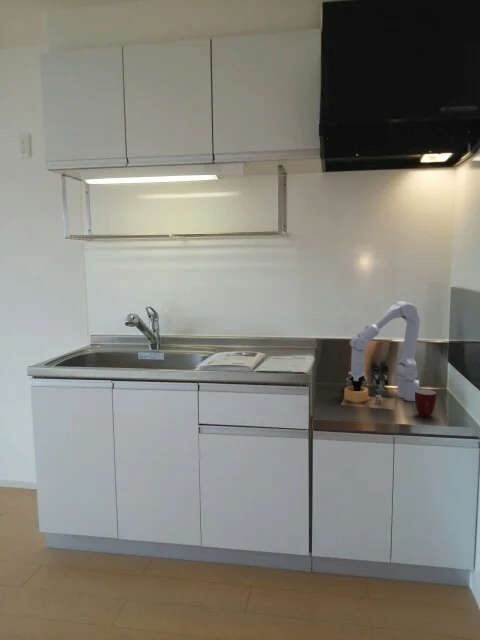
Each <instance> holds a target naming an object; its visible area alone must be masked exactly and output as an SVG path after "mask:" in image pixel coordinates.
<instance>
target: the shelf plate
mask: <svg viewBox="0 0 480 640" xmlns="http://www.w3.org/2000/svg"><path fill="white" fill-rule="evenodd" d="M396 401H397V399H396V398H391V397H390V398H389V397H382V395H381V394H375V396H368V400H366V401H359V402H357V401H350V400H347V399H345V398H344V397H343V400H342V402H341V404H340V405H341V406H350V407H359V408H371V409H380V410H381V409H384V410H391V411H393V410H394V411H395V409H396Z"/></svg>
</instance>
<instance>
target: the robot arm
mask: <svg viewBox="0 0 480 640" xmlns="http://www.w3.org/2000/svg"><path fill="white" fill-rule="evenodd" d="M400 318H402V319H403V320H404V321H405V323H406V327H405V334H404V340H403V341H404V342H403V348H402V353H401V355H402V356H401V357H400V358H399V360H398V364H397V365H396V368H395V372H396V374H397V376H398V377H397V397H399V398H402V399H403V401H407V402H415V391H416V390H419V389H420V380H419V379H416V378H417V377H418V369H417V368H418V365H417V362H416V360H415V357H416V352H417V344H418V337H419V331H420V322H421V319H420V316H419V313H418V308H417V306H416V305H415V304H413V303H411V302H407V301H403V300H398V301H397V300H396V302H395V303H394V304H392V305H390V307H389V308H388V309H387V311H386V312H384V313H383V314H382V316H380V317H379V318H378V320H376V321H375V323H373V324H372V323H369V324H366V325H365V326H364V328H363V330H361V331H360V332H358V333H357V335H354V336H352V337H351V339H350V341H349V346H351V358H350V359H351V360H350V361H351V363H350V364H351V365H350V371H348V375H351V377H352V378H351V382H352V384H353V388H354V391H360V389H361V386H362V382H363V380H364V378H365V377H366V373H365V363H366V361H365V359H366V358H365V357H366V353H365V352H366V349H367V347H368V345H369V343H370V342H371V341H372V340H374V339H375V337H377V336H378V335H379V334H380V330H381V329H382V328H383V327H384V326H386V325H387V324H389V323H390V322H391V321H392V320H394V319H400ZM365 379H366V378H365Z"/></svg>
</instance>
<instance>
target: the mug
mask: <svg viewBox="0 0 480 640" xmlns="http://www.w3.org/2000/svg"><path fill="white" fill-rule="evenodd" d="M436 401H437V392H436V391H435V390H431V389H425V388H424V389H423V388H422V389H420V388H419V390H416V391H415V401H414V402H415V408H416V411H417V413H418V416H420V417H421V418H430V417H431V415H432V414H433V412H434V409H435V406H436Z"/></svg>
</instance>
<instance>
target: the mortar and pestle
mask: <svg viewBox="0 0 480 640" xmlns="http://www.w3.org/2000/svg"><path fill="white" fill-rule="evenodd" d="M351 378H352V376H349V377H347V378H346V387H349V386H353V384H352V382H351ZM367 386H368V379H367V378H364V380H363V382H362V386H361V387H365V388H368V387H367Z"/></svg>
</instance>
